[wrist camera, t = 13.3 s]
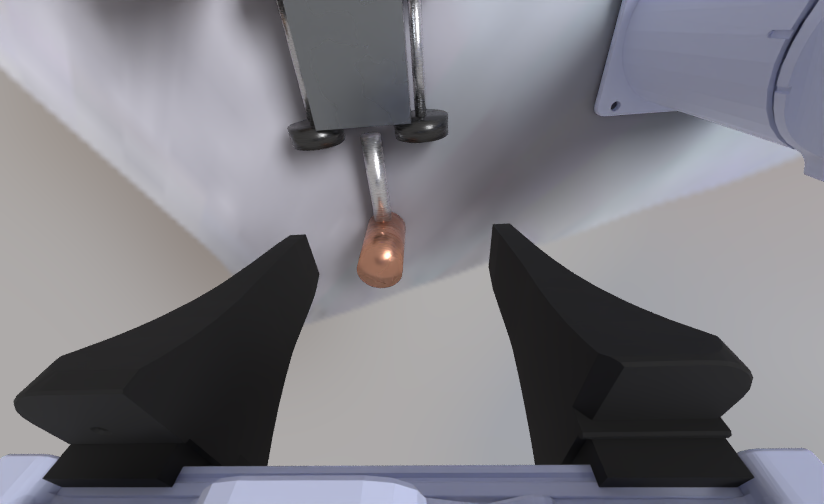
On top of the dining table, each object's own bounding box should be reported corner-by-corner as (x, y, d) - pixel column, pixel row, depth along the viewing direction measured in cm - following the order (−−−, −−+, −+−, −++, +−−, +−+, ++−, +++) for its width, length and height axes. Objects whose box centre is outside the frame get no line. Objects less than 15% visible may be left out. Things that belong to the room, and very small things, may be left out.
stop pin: (395, 129, 18) (388, 157, 14) (407, 242, 23) (404, 286, 19) (349, 132, 18) (330, 161, 14) (371, 243, 23) (361, 288, 19)
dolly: (444, -61, 14) (449, -80, 11) (446, 125, 18) (450, 140, 16) (252, -39, 14) (217, -52, 12) (302, 136, 19) (285, 152, 17)
